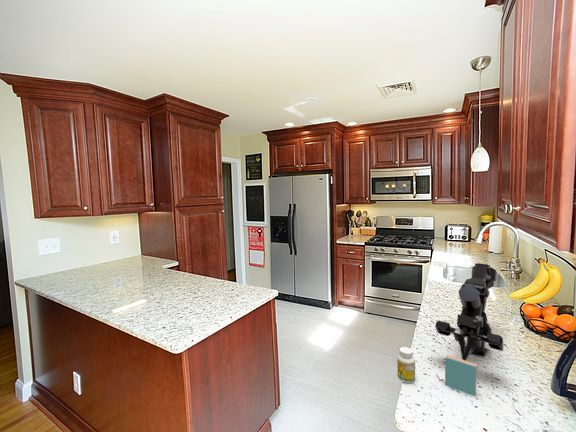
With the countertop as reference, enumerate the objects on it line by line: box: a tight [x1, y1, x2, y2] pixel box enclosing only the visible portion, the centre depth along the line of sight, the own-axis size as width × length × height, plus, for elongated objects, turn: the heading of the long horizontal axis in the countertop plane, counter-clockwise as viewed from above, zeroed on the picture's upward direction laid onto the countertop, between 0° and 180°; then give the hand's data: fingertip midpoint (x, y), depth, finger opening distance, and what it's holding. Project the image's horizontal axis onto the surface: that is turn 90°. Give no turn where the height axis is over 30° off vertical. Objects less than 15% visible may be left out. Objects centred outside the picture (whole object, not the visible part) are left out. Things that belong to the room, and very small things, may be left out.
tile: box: [444, 354, 478, 397], centre depth 86 cm, size 2×8×9 cm, turn 48°
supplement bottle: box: [396, 346, 416, 384], centre depth 92 cm, size 5×5×10 cm
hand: (464, 360), depth 89 cm, fingers closed
